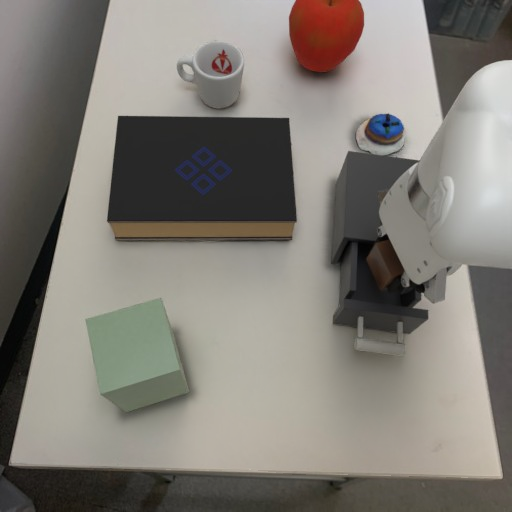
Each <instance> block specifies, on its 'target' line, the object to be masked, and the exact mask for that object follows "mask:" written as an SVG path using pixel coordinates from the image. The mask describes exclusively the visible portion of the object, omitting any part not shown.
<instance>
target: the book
mask: <svg viewBox="0 0 512 512" xmlns="http://www.w3.org/2000/svg"><path fill="white" fill-rule="evenodd" d="M293 163H294V162H293V151H292V137H291V125H290V117H252V116H251V117H249V116H248V117H247V116H245V117H243V116H239V117H238V116H178V115H177V116H174V115H173V116H170V115H167V116H166V115H165V116H164V115H162V116H161V115H117V121H116V132H115V141H114V152H113V159H112V167H111V168H112V170H111V179H110V188H109V198H108V206H107V215H106V216H107V217H106V222H107V224H109V225H110V227H111V230H112V232H113V235H114V239H115V241H291V240H293V232H294V229H295V225H296V224H297V222H298V217H297V216H298V215H297V206H296V205H297V204H296V202H297V201H296V192H295V191H296V189H295V177H294V164H293Z"/></svg>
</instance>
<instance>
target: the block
mask: <svg viewBox="0 0 512 512" xmlns="http://www.w3.org/2000/svg"><path fill="white" fill-rule="evenodd" d="M366 260H367V262H368V265H369V267H370V269H371V271H372V273H373V276H374V278H375V280H376V282H377V284H378V287H379V289H380V291H382V290H386V289H388V287H389V285H390V284H391V283H392V282H393V281H394V279H395V278H396V277H398V276H401V275H402V274H403V271H404V267H403V265H402V264H401V262H400V260H399V257H398V255H397V253H396V251H395V249H394V247H393V245H392V243H391V241H390V239H389V240H386V241H382V242H379V243H376V244H375V245H374V247H373V249H372V250H371V252H370V253H369V255H368V257H367V258H366Z"/></svg>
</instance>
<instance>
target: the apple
mask: <svg viewBox="0 0 512 512" xmlns="http://www.w3.org/2000/svg"><path fill="white" fill-rule="evenodd" d="M290 9H291V10H290V13H289V16H288V30H289V31H288V36H289V40H290V45H291V48H292V50H293V53H294V56H295V59H296V60H297V62H298V63H299V65H301V66H302V67H304V68H305V69H307V70H308V71H312V72H316V73H328V72H330V71H333V70H335V69H336V68H338V67H339V66H340V65H341V64H342V63H343V62H344V61H345V60H346V59H347V58H348V57H349V56H350V55H351V54H352V53H353V52H354V51H355V50H356V47H357V45H358V44H359V41H360V40H361V38H362V36H363V35H362V34H363V31H364V27H365V12H364V9H363V4H362V2H361V0H294V3H293V4H292V6H291V8H290Z"/></svg>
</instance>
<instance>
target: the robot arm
mask: <svg viewBox="0 0 512 512" xmlns="http://www.w3.org/2000/svg"><path fill="white" fill-rule="evenodd" d="M418 160H419V162H418V163H416V164H414V165H413V166H412V167H411V168H409V169H408V170H407V171H406V172H405V173H404V174H403V175H402V176H401V177H400V178H399V179H398V180H397V181H396V182H395V183H394V185H393V186H392V187H391V189H385V190H381V191H379V192H378V195H379V201H380V209H379V215H380V221H381V226H380V227H378V228H377V233H378V235H379V236H378V238H377V239H376V241H375V243H374V245H375V244H376V243H379V242H382V241H386V240H389V239H390V241H391V243H392V245H393V247H394V249H395V251H396V253H397V255H398V257H399V260H400V262H401V264H402V265H403V267H404V271H403V274H402V275H401V276H398V277H396V278H395V279H394V281H393V282H392V283H391V284H390V285H389V287H388V289H387V291H388V293H393V292H396V291H398V292H399V294H404V293H407V292H409V291H411V290H412V289H414V290H415V291H417V292H418V293H421V294H423V296H424V297H425V298H426V299H427V300H428V301H429V302H430V303H431V304H438V303H441V302H445V300H446V291H447V290H446V288H447V278H448V277H449V276H452V275H454V274H455V273H456V272H457V271H458V270H459V269H460V268H461V267H462V265H465V266H474V267H483V268H484V267H486V268H495V269H505V270H506V269H507V270H512V59H505V60H498V61H495V62H492V63H489V64H487V65H484V66H483V67H481V68H480V69H478V70H477V71H476V72H475V73H474V74H473V75H471V77H470V78H469V79H468V80H467V81H466V83H465V84H464V85H463V87H462V89H461V91H460V92H459V93H458V95H457V97H456V99H455V100H454V101H453V104H452V105H451V107H450V109H449V110H448V112H447V114H446V115H445V117H444V119H443V120H442V122H441V124H440V126H439V127H438V128H437V130H436V132H435V134H434V135H433V136H432V138H431V140H430V142H429V143H428V145H427V147H426V148H425V149H424V152H423V153H422V155H421V157H420V159H418ZM374 245H373V246H372V248H371V250H372V249H373V247H374ZM371 250H370V251H369V252H371Z"/></svg>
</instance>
